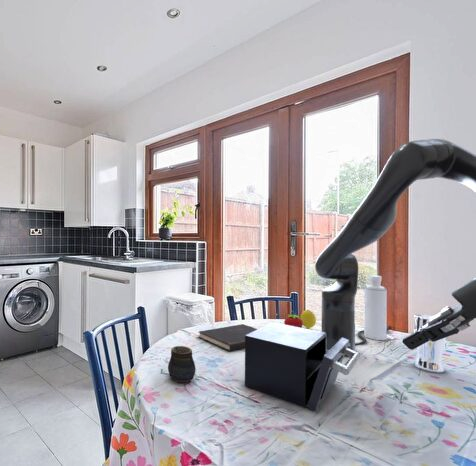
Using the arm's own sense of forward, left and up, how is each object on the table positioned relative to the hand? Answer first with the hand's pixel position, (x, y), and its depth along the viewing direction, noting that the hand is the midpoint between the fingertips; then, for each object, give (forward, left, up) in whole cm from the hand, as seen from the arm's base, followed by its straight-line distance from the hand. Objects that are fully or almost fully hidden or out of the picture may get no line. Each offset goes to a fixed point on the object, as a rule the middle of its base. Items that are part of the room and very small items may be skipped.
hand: (406, 345), depth 65 cm
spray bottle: (-58, -32, -16) cm, 68 cm away
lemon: (-45, -50, -16) cm, 69 cm away
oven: (+7, -22, -16) cm, 28 cm away
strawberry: (-30, -46, -16) cm, 57 cm away
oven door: (+4, -13, -16) cm, 21 cm away
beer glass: (-40, -10, -16) cm, 44 cm away
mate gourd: (+30, -36, -16) cm, 50 cm away
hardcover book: (-8, -53, -16) cm, 56 cm away
